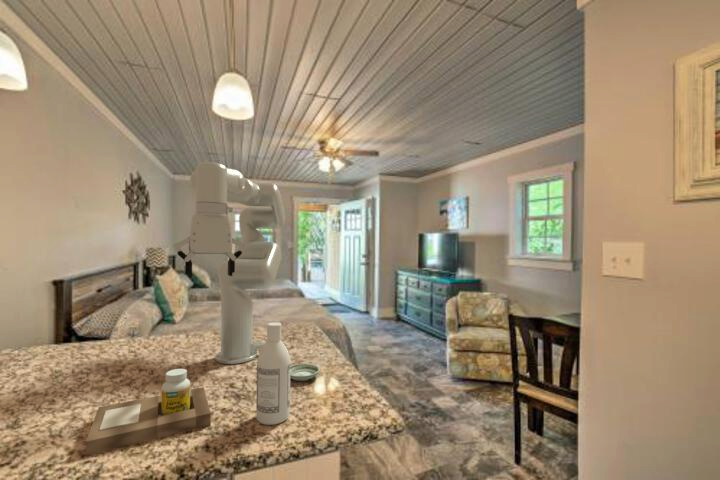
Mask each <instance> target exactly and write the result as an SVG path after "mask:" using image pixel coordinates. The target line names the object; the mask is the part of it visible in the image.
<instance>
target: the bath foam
mask: <svg viewBox="0 0 720 480" xmlns="http://www.w3.org/2000/svg"><path fill="white" fill-rule="evenodd" d="M266 326H267V327H266V330H267V331H266V333H267V334H266V342H265V343H266V344H265V345H264V347H263V348H262V349H260V352H259V354H258V357H257V361H256V401H255V402H256V406H255V407H256V408H255V409H256V411H255V412H256V414H255V417H256V420H257V421H258V423H260V424H262V425H267V426H269V425H270V426H273V425H279V424H281V423H283V422H285V421H286V420H287V419H288V418H289V417H290V413H291V378H290V366H291V357H290V354H289V353H290V352H289V351H288V348H287V347H286V345H285V344H284V342H283V341H282V323H281V322H269V323H267V325H266Z"/></svg>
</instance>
